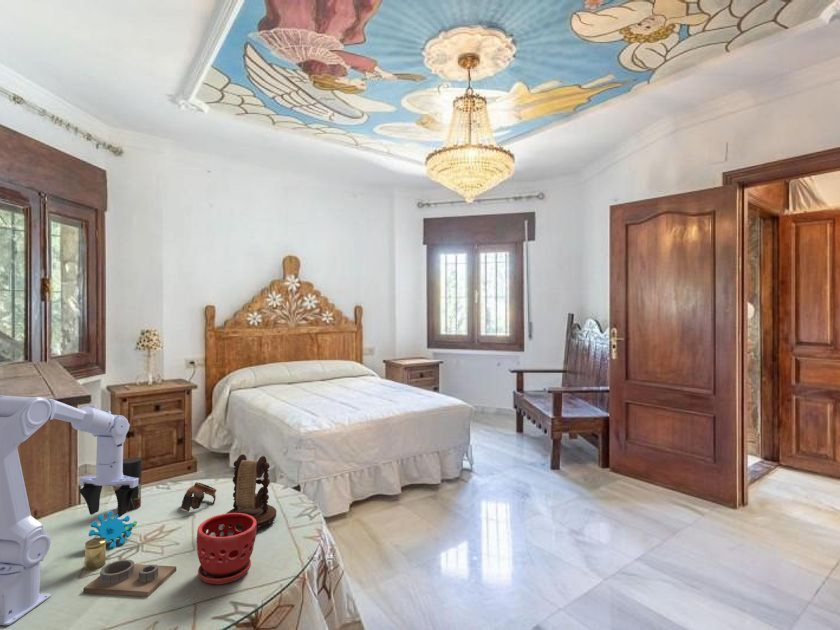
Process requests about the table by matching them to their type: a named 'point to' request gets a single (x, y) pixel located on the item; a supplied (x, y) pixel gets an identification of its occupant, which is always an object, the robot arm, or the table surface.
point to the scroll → (252, 491)
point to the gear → (112, 528)
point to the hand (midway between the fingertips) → (108, 513)
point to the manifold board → (129, 578)
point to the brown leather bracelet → (197, 496)
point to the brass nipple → (95, 553)
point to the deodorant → (133, 469)
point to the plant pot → (225, 547)
